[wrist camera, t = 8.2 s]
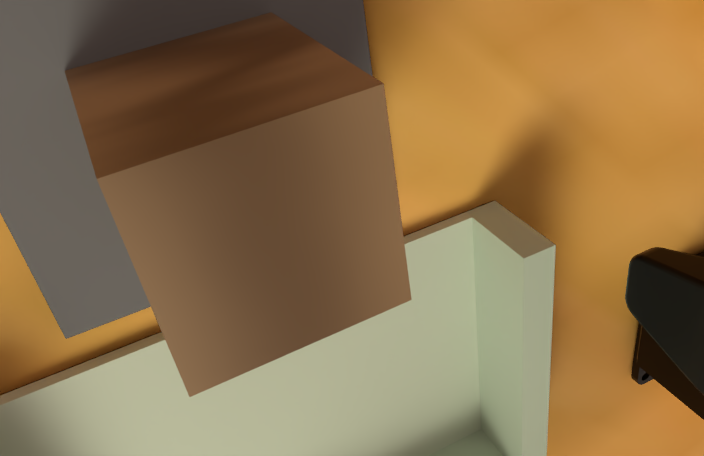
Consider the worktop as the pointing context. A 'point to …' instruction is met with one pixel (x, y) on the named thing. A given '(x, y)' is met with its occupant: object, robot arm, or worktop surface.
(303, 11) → the mat
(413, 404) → the crate
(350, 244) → the walnut block
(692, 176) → the worktop surface
